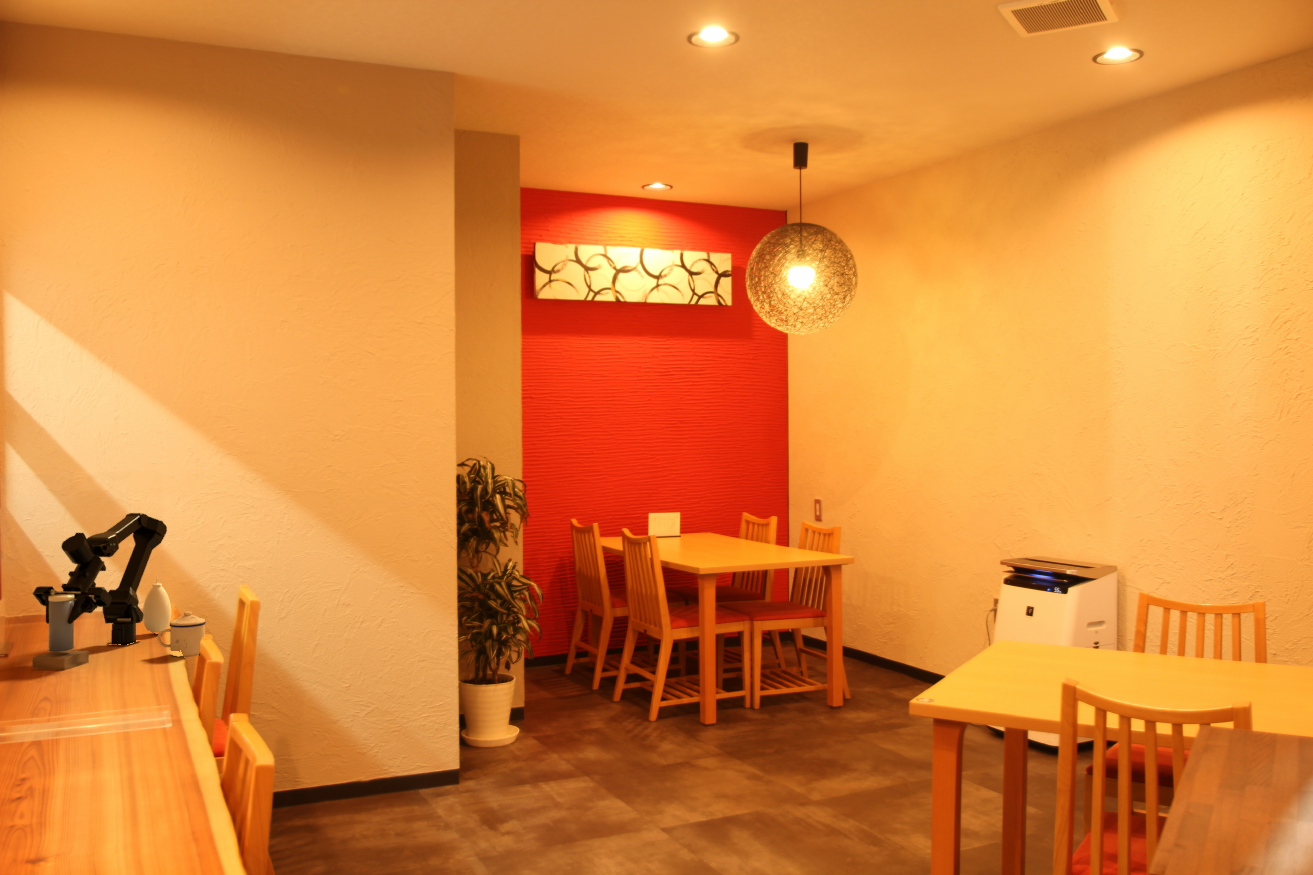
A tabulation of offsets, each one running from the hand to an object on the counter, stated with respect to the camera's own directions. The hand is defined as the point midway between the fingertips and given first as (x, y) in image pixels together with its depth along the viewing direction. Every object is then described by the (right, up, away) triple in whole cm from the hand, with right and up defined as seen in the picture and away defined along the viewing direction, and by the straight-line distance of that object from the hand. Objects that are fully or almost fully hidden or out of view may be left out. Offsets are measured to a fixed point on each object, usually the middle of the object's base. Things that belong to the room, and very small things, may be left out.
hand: (58, 622), depth 257 cm
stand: (0, -11, +1) cm, 11 cm away
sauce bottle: (+4, -12, +44) cm, 46 cm away
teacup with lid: (+25, -12, +15) cm, 32 cm away
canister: (0, -7, +1) cm, 7 cm away
